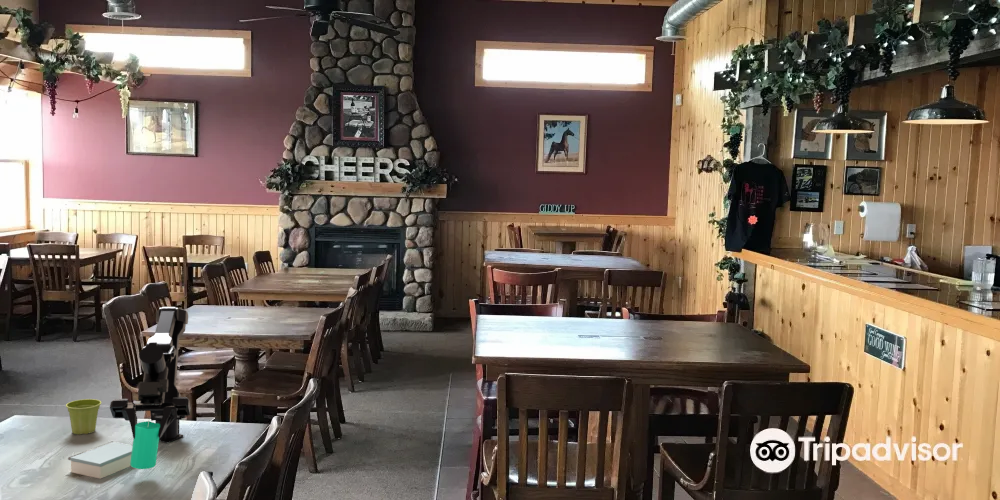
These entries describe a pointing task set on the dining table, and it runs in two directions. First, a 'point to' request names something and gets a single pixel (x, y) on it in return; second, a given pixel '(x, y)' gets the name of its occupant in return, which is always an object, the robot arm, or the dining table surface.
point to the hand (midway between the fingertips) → (147, 437)
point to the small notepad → (100, 468)
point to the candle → (145, 445)
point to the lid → (103, 454)
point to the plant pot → (83, 415)
